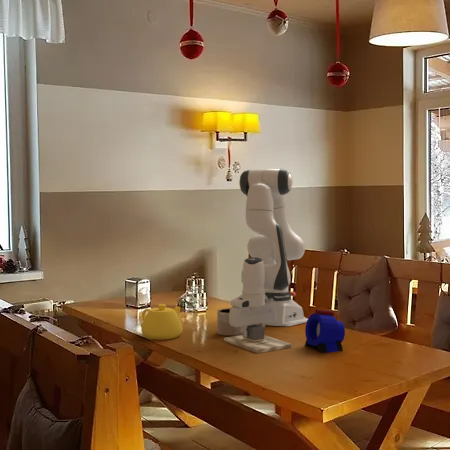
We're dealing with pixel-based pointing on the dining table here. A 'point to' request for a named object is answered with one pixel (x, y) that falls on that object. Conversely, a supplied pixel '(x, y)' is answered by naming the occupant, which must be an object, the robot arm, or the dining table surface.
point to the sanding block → (255, 333)
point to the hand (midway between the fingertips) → (253, 335)
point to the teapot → (161, 323)
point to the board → (258, 344)
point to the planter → (226, 324)
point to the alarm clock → (324, 331)
